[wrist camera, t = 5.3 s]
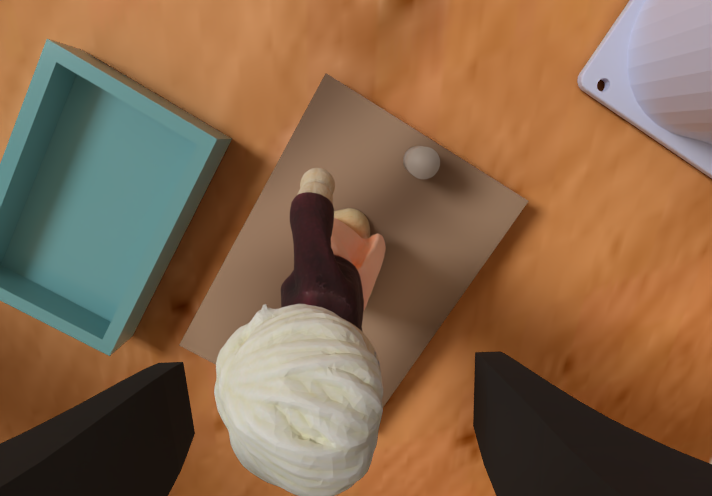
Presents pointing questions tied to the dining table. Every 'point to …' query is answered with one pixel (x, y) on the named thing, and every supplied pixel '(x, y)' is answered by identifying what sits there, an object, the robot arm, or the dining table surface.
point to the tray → (96, 196)
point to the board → (385, 216)
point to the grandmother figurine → (309, 357)
